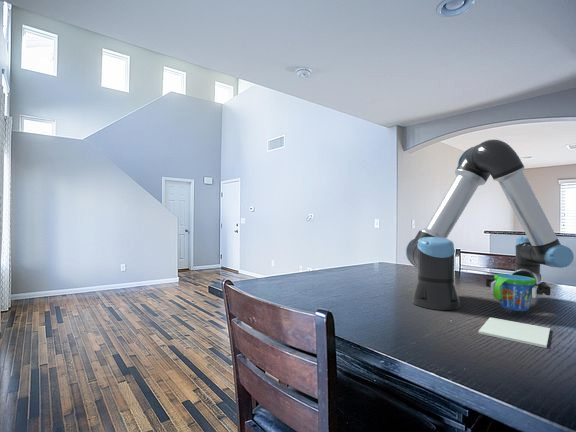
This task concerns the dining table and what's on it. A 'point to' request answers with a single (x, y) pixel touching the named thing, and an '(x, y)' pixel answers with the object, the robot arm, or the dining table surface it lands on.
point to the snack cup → (513, 291)
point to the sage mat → (516, 332)
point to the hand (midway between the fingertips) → (512, 290)
